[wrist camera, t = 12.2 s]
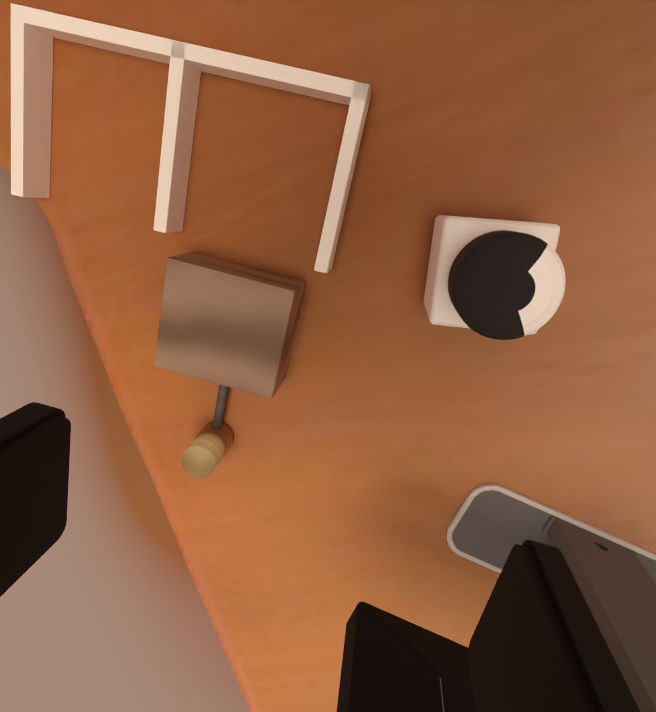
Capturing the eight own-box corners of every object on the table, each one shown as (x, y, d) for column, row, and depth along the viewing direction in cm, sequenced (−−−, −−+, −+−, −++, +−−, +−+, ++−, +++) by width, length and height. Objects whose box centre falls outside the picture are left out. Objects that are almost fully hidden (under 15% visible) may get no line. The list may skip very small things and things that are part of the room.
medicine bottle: (422, 304, 38) (435, 345, 26) (435, 214, 36) (455, 216, 24) (511, 313, 37) (564, 359, 26) (530, 222, 35) (596, 227, 23)
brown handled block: (194, 251, 39) (164, 258, 34) (306, 281, 39) (293, 292, 34) (169, 432, 45) (141, 461, 40) (266, 460, 45) (250, 493, 39)
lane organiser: (41, 20, 35) (10, 3, 32) (371, 94, 34) (369, 84, 31) (38, 195, 39) (11, 194, 36) (331, 268, 38) (326, 273, 35)
